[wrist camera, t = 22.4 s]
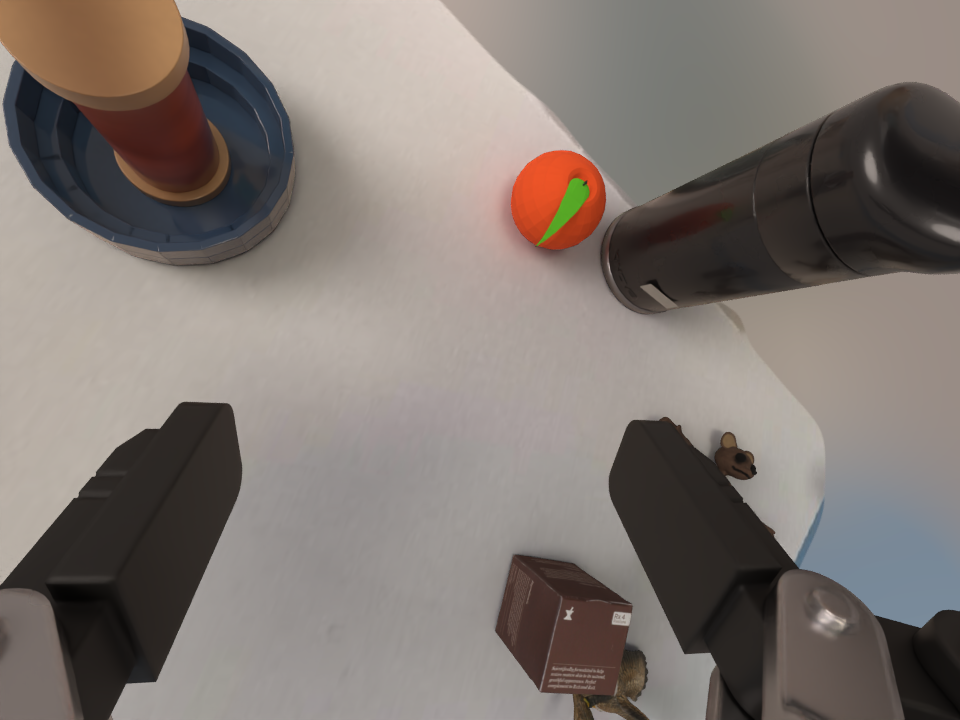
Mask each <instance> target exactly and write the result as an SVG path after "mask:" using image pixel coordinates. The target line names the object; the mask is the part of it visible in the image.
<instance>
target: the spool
mask: <svg viewBox="0 0 960 720" xmlns="http://www.w3.org/2000/svg"><path fill="white" fill-rule="evenodd" d="M0 41H1V43H2V44H3V46H4V47H5V48H6V49H7V50H8V52H9V53H10V54H11V55H12V56H13V57H14V58H15V59H16V60H17V61H18V63H19V64H20V65H21V66H22V67H23V68H24V69H25V70H26V71H27V72H28V73H29V74H30V75H31V76H32V77H33V78H34V79H35V80H37V81H38V82H39V83H41V84H42V85H43V86H44V87H46V88H47V89H49V90H51V91H52V92H54V93H55V94H57V95H59V96H61V97H63V98H65V99H67V100H69V101H72V102H73V103H74V104H75V105H76V106H77V108H78V109H79V110H80V111H81V112H82V113H83V114H84V116H85V117H86V118H87V119H88V120H89V121H90V122H91V124H92V125H93V126H94V127H95V128H96V129H97V130H98V132H99V133H100V134H101V135H102V136H103V137H104V138H105V140H106V141H107V142H108V143H109V144H110V145H111V146H112V148H113V149H114V155H115V158H116V161H117V163H118V166H119V168H120V169H121V171H122V172H123V174H124V175H125V176H126V177H127V179H128V180H129V181H130V182H131V183H132V184H133V185H134V186H135V187H136V188H137V189H138V190H139V191H141V192H142V193H143V194H145V195H146V196H148V197H150V198H151V199H153V200H156V201H158V202H161V203H164V204H167V205H172V206H179V207H188V206H195V205H200V204H203V203H205V202H208V201H210V200H211V199H213V198H214V197H216V196H217V195H218V194H219V193H220V192H221V191H222V190H223V189H224V188H225V186H226V184H227V182H228V180H229V177H230V173H231V158H230V154H229V150H228V148H227V145H226V143H225V140H224V138H223V137H222V135H221V133H220V132H219V130H218V129H217V128H216V127H215V126H214V125H213V124H212V123H211V122H210V121H209V120H208V119H207V118H206V116H205V113H204V111H203V108H202V106H201V103H200V101H199V98H198V95H197V93H196V90H195V88H194V85H193V83H192V80H191V78H190V75H189V73H188V70H187V67H188V62H189V42H188V37H187V33H186V30H185V27H184V24H183V21H182V18H181V15H180V13H179V10H178V8H177V6H176V3H175V1H174V0H0Z"/></svg>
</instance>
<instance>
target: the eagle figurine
mask: <svg viewBox="0 0 960 720" xmlns="http://www.w3.org/2000/svg"><path fill="white" fill-rule="evenodd" d="M645 660H646V658H645V655H644V654H643V652H642V651H640V650H638V651H636V650H635V651H629V652H628V651H627V650H624V651H623V656H622V661H621V666H620V671H619V675H618V680H617V685H616V690H615V694H614V695H591V694H573V701H574V720H594V718H593V715H592V712H591V710H590V709H589V708H592V707H593V708H596V709H597V710H599V711H605V712H610V713H616V714H618V715H620V716H622V717H623V718H625V719H626V720H649V719H648V718H647V717H646V715H644V714H643V713H642V712H641V711H640V710H639V709H638V708H637V707H635V706H634V705H633V704H631V703H630V702H629V701H628V699H627V697H630V698H631V699H632V700H633V701H635V702H636V701H637V698H638V697H639V696H640V695H641V690H644V689H645V686H646V685H645V683H646V682H647V680H648V678H647V674H648V670H647V668H646V665H647V662H646V661H645ZM626 696H627V697H626Z"/></svg>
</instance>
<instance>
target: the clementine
mask: <svg viewBox="0 0 960 720" xmlns="http://www.w3.org/2000/svg"><path fill="white" fill-rule="evenodd" d="M605 203H606V193H605V185H604V182H603V179H602V176H601V174H600V173H599V171H598V169H597V168H596V167H595V166H594V165H593V164H592V162H590V161H589V160H587V159H586V158H585V157H583V156H582V155H580V154H577V153H575V152H572V151H562V150H560V151H551V152H547V153H544V154H542V155H540V156H539V157H537V158H535V159H534V160H532V161H531V162H529V163H528V164H527V165H526V166H525V168H524V169H523V170H522V171H521V173H520V174H519V176H518V177H517V179H516V182H515V184H514V186H513V191H512V198H511V210H512V216H513V219H514V221H515V224H516V226H517V227H518V229H519V231H520V232H521V234H522V235H523V236H524V237H525V238H526V239H527V240H529V241H530V242H532V243H534V244H535V245H536V246H540V247H544V248H547V249H551V250H553V249H565V248H569V247H572V246H575V245H577V244H579V243H580V242H581V241H583V240H584V239H585V238H587V237H588V236H589V235H591V234H592V233H593V231H594V230H595V229H596V227H597V226H598V224H599V222H600V220H601V218H602V216H603V213H604V210H605Z"/></svg>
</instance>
